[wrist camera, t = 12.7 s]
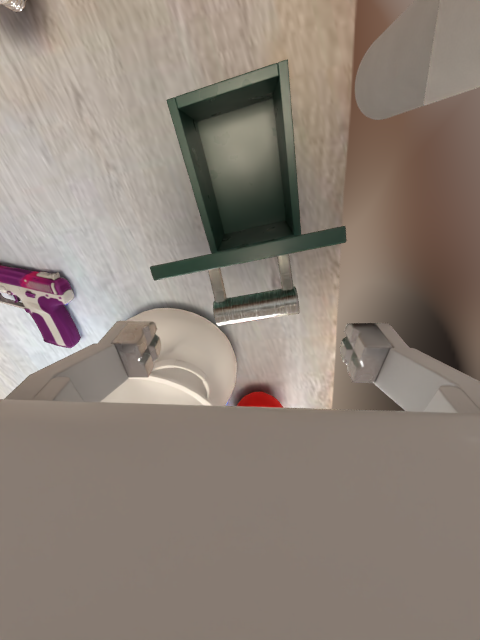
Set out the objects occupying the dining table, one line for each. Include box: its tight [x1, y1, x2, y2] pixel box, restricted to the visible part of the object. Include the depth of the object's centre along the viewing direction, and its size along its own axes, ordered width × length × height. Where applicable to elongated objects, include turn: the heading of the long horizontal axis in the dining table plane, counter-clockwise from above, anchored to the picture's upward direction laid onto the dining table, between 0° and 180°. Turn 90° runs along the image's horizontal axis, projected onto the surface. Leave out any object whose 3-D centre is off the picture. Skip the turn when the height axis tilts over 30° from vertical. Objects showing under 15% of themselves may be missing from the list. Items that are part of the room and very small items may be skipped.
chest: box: [167, 60, 301, 254], centre depth 27 cm, size 15×11×9 cm
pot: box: [101, 308, 237, 406], centre depth 42 cm, size 26×24×17 cm
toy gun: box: [0, 265, 81, 348], centre depth 42 cm, size 4×22×15 cm
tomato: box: [237, 392, 283, 408], centre depth 50 cm, size 12×12×13 cm
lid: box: [150, 226, 346, 326], centre depth 20 cm, size 15×11×5 cm
